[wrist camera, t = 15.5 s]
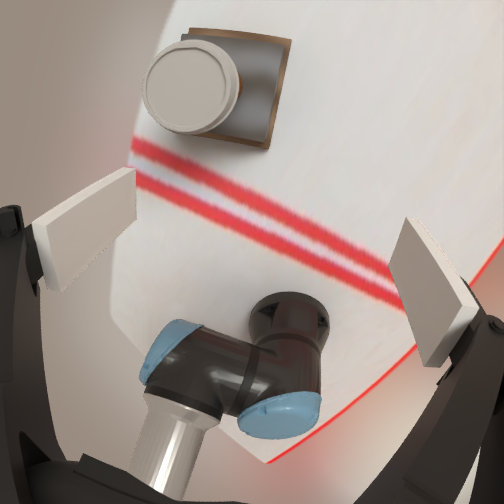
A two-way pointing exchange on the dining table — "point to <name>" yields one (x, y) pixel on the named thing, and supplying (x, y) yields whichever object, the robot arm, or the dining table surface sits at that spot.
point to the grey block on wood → (249, 83)
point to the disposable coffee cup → (191, 87)
